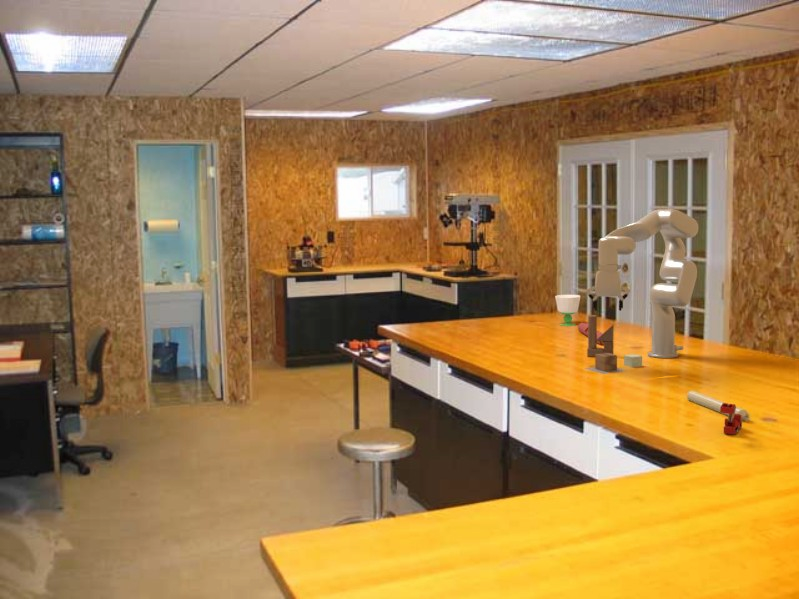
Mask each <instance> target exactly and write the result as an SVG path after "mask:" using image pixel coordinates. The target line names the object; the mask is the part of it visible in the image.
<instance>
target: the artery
mask: <svg viewBox="0 0 799 599" xmlns="http://www.w3.org/2000/svg"><path fill="white" fill-rule="evenodd" d="M577 330H578V331H579V332H580V333H581V334H583V335H585V336H586V337H588V324H587V323H585V322H581V323H579V324H578V326H577ZM602 334H603V333H602V332H601V331H598V330H597V339H598V338H599V337H600V336H601V335H602ZM597 344H599V345H600V346H602V345H603V346H604V341H597Z"/></svg>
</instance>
